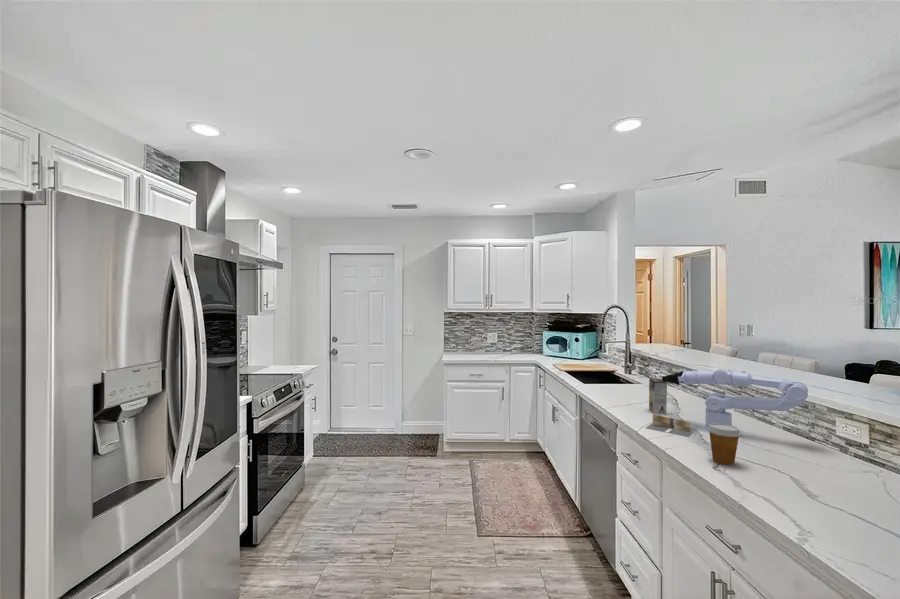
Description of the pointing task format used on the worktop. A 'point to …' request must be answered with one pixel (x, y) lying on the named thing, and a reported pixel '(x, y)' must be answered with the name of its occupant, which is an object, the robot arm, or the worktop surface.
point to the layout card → (671, 430)
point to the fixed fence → (682, 425)
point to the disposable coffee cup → (723, 442)
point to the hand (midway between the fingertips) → (664, 378)
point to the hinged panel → (663, 421)
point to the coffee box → (657, 396)
